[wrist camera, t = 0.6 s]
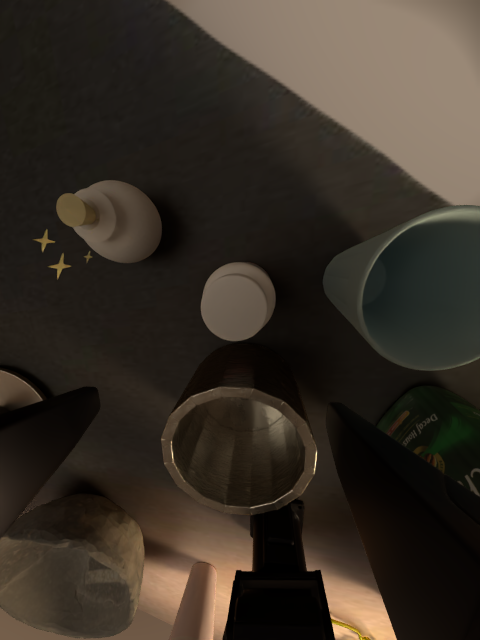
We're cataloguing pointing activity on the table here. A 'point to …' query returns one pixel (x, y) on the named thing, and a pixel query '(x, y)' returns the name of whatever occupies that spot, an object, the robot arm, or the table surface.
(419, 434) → the coffee jar
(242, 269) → the pill bottle
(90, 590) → the bowl
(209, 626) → the smoothie
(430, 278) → the cup
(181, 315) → the table surface
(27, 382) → the lid
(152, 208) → the ornament
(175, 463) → the tin
